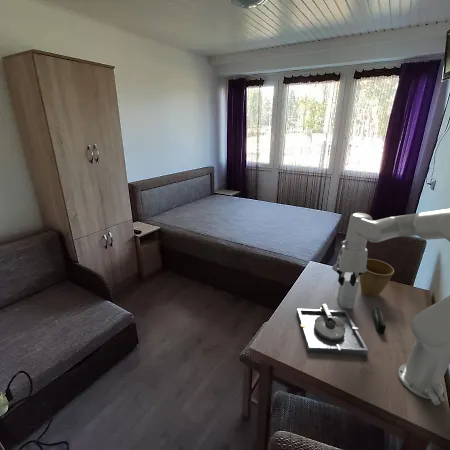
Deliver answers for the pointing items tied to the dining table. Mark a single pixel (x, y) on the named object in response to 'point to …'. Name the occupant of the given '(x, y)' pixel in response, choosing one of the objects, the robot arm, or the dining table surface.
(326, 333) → the dial
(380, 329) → the green cucumber
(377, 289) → the plant pot
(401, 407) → the dining table surface
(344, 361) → the dining table surface
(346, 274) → the skincare box
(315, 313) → the housing
